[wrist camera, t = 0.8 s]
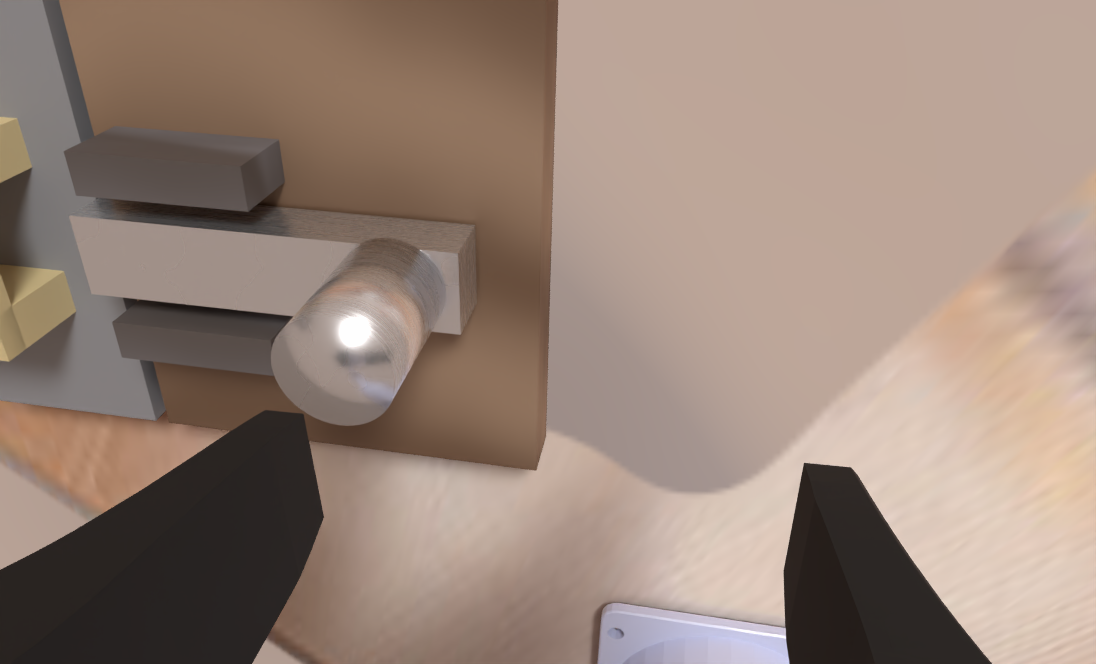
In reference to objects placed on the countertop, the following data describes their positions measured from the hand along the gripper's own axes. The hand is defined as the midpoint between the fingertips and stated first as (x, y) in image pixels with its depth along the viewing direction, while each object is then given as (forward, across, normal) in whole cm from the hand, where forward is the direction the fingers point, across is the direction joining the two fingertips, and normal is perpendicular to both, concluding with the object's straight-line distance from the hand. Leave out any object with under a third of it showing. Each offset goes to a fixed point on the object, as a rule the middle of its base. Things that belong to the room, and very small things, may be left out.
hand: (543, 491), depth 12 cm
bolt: (+8, +8, 0) cm, 11 cm away
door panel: (+9, +7, 0) cm, 12 cm away
